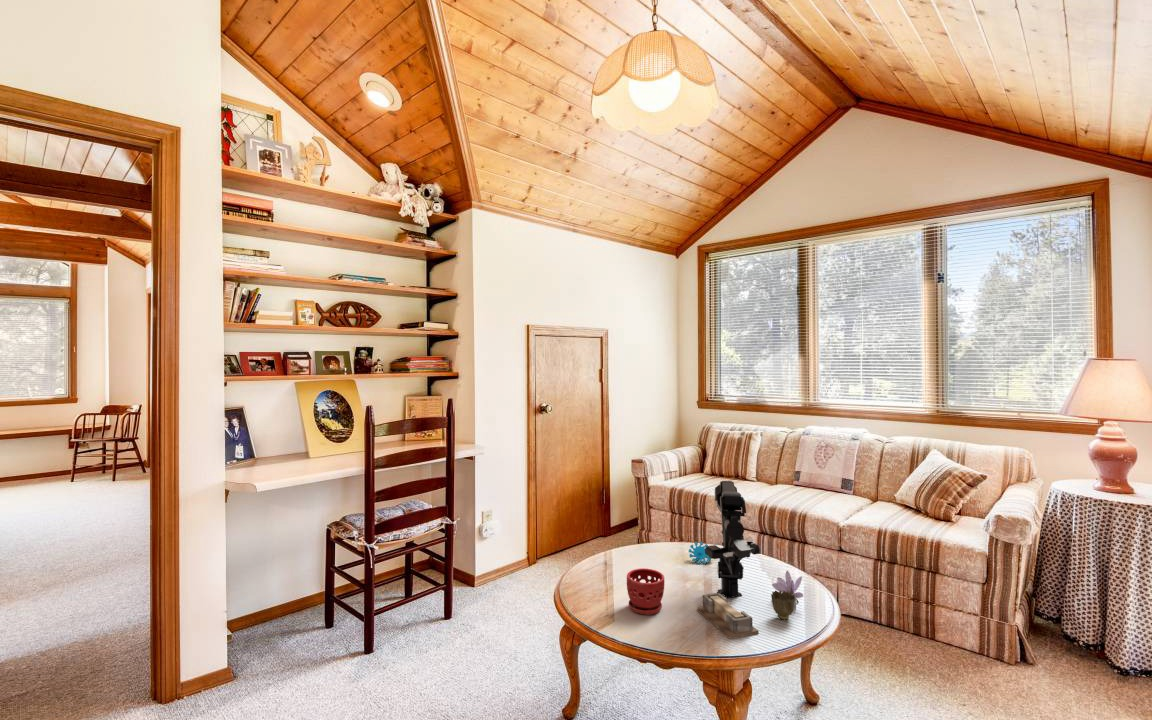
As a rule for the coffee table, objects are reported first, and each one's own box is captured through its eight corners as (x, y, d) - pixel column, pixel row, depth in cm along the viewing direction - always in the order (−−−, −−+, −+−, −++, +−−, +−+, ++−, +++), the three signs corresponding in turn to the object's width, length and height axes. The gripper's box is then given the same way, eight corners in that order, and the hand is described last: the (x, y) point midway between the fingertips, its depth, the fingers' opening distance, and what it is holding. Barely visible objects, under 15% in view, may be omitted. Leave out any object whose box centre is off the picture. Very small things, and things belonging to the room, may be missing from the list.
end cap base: (697, 609, 188) (697, 595, 188) (722, 605, 190) (722, 591, 190) (730, 638, 167) (730, 622, 167) (758, 633, 170) (758, 617, 170)
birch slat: (710, 608, 186) (709, 596, 186) (717, 607, 187) (717, 595, 187) (735, 629, 171) (735, 617, 171) (744, 628, 172) (744, 615, 172)
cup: (776, 611, 185) (775, 588, 186) (798, 617, 181) (797, 593, 181) (768, 619, 180) (767, 595, 180) (790, 626, 175) (790, 601, 175)
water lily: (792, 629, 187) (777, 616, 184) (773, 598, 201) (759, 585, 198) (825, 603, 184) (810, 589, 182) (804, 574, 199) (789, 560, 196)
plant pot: (619, 610, 187) (619, 576, 188) (640, 598, 197) (640, 565, 198) (651, 621, 179) (651, 585, 179) (671, 608, 189) (671, 573, 189)
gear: (687, 560, 232) (690, 538, 238) (686, 566, 236) (689, 545, 243) (713, 565, 229) (715, 544, 236) (712, 571, 233) (714, 550, 240)
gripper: (720, 539, 178) (721, 586, 177) (769, 533, 183) (770, 580, 183) (703, 529, 188) (704, 574, 188) (750, 524, 194) (751, 568, 193)
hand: (732, 574), depth 188 cm, fingers closed
